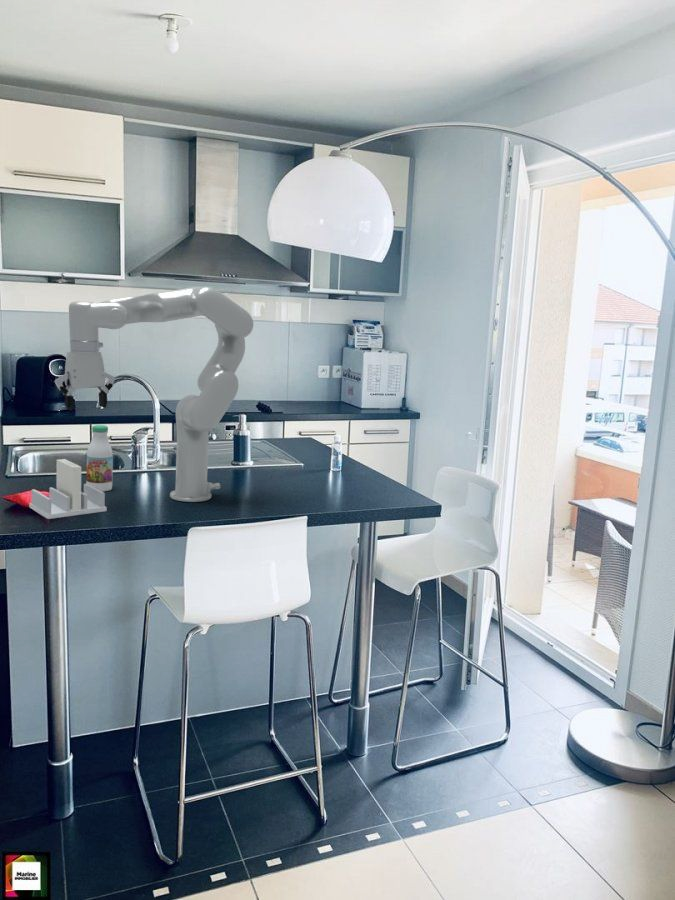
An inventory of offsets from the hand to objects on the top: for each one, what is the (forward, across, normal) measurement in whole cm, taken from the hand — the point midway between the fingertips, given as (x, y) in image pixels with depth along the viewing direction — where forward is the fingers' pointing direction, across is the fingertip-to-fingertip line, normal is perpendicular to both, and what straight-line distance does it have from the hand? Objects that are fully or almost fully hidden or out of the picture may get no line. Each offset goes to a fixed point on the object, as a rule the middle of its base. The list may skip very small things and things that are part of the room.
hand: (86, 408), depth 210 cm
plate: (+26, +8, +2) cm, 28 cm away
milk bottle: (+28, -10, -14) cm, 33 cm away
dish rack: (+28, +8, +2) cm, 29 cm away
